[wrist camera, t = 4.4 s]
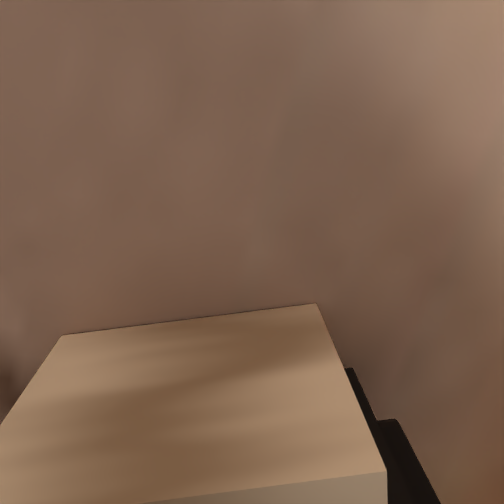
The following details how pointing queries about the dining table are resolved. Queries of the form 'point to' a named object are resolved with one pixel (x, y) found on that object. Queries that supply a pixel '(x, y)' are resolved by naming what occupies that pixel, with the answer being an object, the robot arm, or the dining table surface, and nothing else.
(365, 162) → the dining table surface
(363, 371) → the dining table surface
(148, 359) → the cream square box
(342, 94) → the dining table surface
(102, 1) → the dining table surface
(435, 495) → the robot arm
